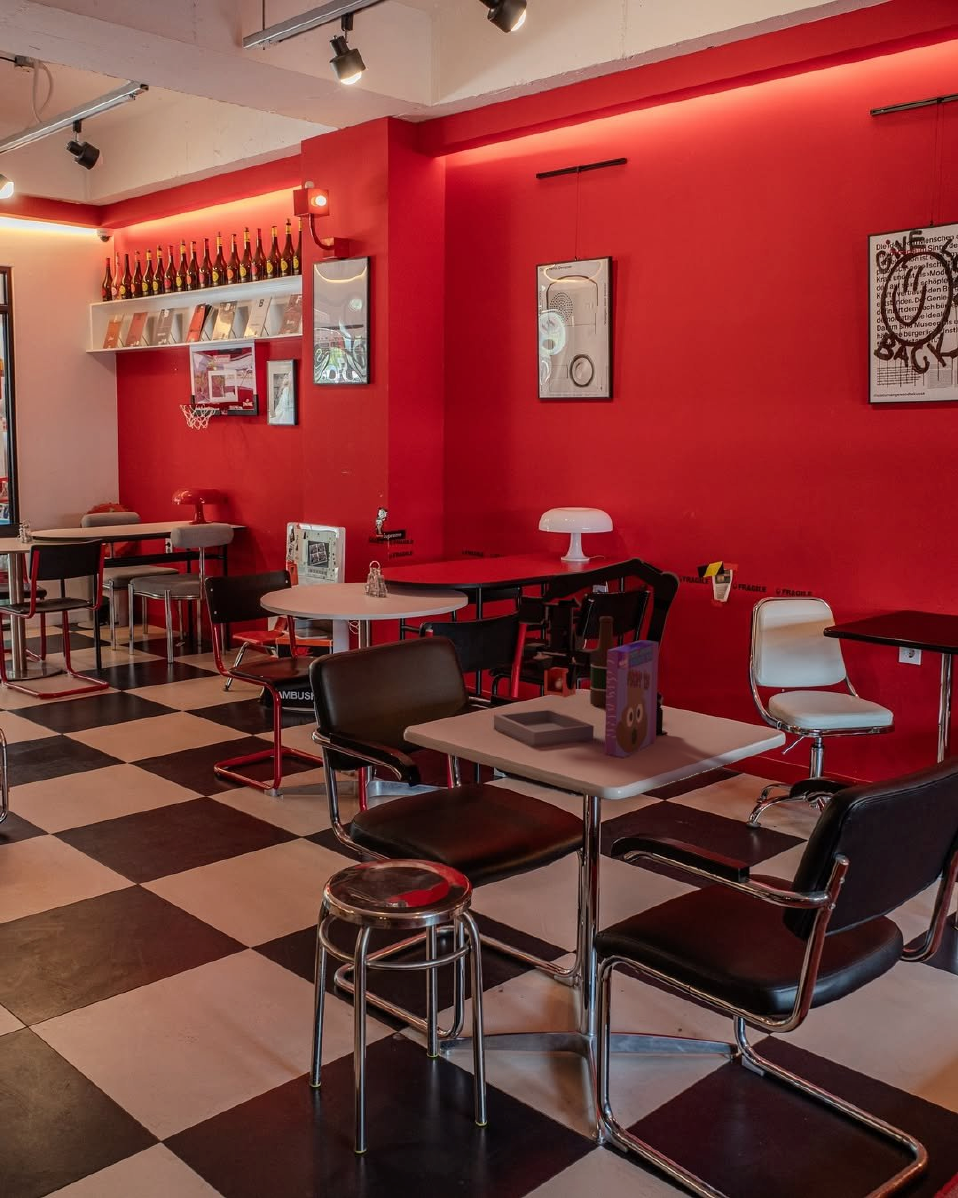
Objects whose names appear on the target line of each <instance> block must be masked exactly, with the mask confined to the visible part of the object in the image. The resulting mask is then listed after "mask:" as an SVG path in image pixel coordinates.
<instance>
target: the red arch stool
mask: <svg viewBox="0 0 958 1198" xmlns="http://www.w3.org/2000/svg"><path fill="white" fill-rule="evenodd" d="M559 678H562V679H563V690H561V691H560V690H557V689H556V688H555V686H554V683H555V681H556V680H557V679H559ZM543 680H544V681H543V682H544V684H543V686H544V687H543V691H544V693H543V695H546V696H547V695H549V696H550V695H552V696H559V697H563V698H569V697H570V696H574V695H576V689H577V688H576V686H577V684H576V683H577V682H576V683H575V685H574V688H573V689H572V690H570V688H569V677H568V668H562V667H551V669H547V670H545V674H544V678H543Z"/></svg>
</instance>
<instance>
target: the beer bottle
mask: <svg viewBox="0 0 958 1198" xmlns="http://www.w3.org/2000/svg"><path fill="white" fill-rule="evenodd" d="M598 621H599V634H598V642H597V646H596V648H595V650H597V651H598V653H599V661H597V662H594V663H591V664H590V678H589V679H590V689H589V691H590V692H589V699H590V701H589V702H590V705H591V704H593V705H594V707H596V706H598V707H597V708H603V709H604V708H605V709H606V683H607V650H610V649H613V648H615V646H614V636H613V634H614V633H613V632H614V631H613V629H614V628H613V622H614V617H612V616H608V615H604V616H603V615H602V616H600V617H599V620H598ZM593 705H592V706H593Z"/></svg>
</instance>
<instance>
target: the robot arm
mask: <svg viewBox="0 0 958 1198" xmlns="http://www.w3.org/2000/svg"><path fill="white" fill-rule="evenodd" d="M631 576H634V577H636V578H637V579H640V580H641V581H642V582H644V583H645V584H647V585H649V586H650V587H652V588H653V589H652V590H653V595H652V604H653V605H652V613H651V617H650V622H649V625H648V630H647V635H646V637H645V640H650V641H655V642H659V647H658V655H659V654H660V649H661V646H662V645H661V644H662V640H663V635H664V633H665V632H664V631H665V627H666V624H667V623H666V622H667V618H668V614H669V611H670V608H671V606H672V604H673V601H674V599H675V597H676V595H677V593H678V591H679V587H680V584H681V582H680V578H679V576H678V575H677V574H676V573H675V572H673V571H670V570H669V571H667V570H666V571H663V570H662V569H660V568H658V567H656V566H654V565H652V564H650V563H648V562H646V561H645V560H643V559H642V558H641V557H632V558H631V559H628V560H624V561H621V562H615V563H613V564H608V565H606V566H602V567H597V568H595V569H589V570H585V571H569V572H560V573H558V574H556V575H554V576H553V577H551V578H550V580H549V582H548V587H547V588H548V589H547V590H546V592H545V593H544V594H542V596H529V595H521V596H520V603H519V606H518V610H517V617H518V618H517V619H518V623H519V624H522V625H523V624H525V625H527V624H528V625H531V624H532V625H543V623H544V621H547V620H548V617H549V620H548V621H549V622H548V623H549V625H548V626H549V627H548V628H547V629H546V635H548V645H547V644H546V643H539V642H533V643H527V644H525V645H524V646H523V649H522V657H524V658H531V662H534V663H535V664H536V667H537V668H538V669H539V672H540V674H541V676H542V678H543V679H544V674H545V670H547V669H551V668H552V662H553V659H554V657H557V658H558V657H559V658H566V659H567V658H568V659H572V662H568V663H567V669H568V677H569V688H570V690H572V689H573V688H574V685H575V683H577V680H578V676H579V674H580V672H581V670H582V669H583V667H584V665H591V663H594V662H597V661H599V653H598V651H597V650H595V649H596V648H595V649H593V648H584V643H585V640H586V639H585V638H584V637H582V636H580V635H577V633H576V632H577V631H576V628H574V627H573V626H574V608H580V607H582V603H581V602H580V601H578V599H577V598H576V596H573V597H572V598H571V599H565V598H567V597H569V596H572V595H574V594H576V593H578V592H580V591H582V590H584V589H587V588H589V587H592V586H596V585H600V584H604V583H607V582H612V581H616V580H619V579H623V578H627V577H631ZM555 599H559V600H558V601H557V602H556V603H555V602H554V603H552V601H553V600H555ZM663 701H664V696H663V695H662V694H661V693H660V692H659V691H658V690H657V715H656V737H657V736H664V735H665V736H666V735H668V733H669V732H668V731H665V730H663V726H664V725H663V723H664V722H663V721H664V719H663V718H664V710H663V708H662V707H661V706H662V704H663Z"/></svg>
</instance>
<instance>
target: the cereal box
mask: <svg viewBox="0 0 958 1198" xmlns="http://www.w3.org/2000/svg"><path fill="white" fill-rule="evenodd" d="M658 647H659V642H655V641H650V640H646V639H643V640H642V639H641V640H640V639H639V640H636V641H633V642H630V643H626V644H623V645H620V646H617V647H614V648H613V649H610V650H607V683H606V707H605V730H604V731H605V734H604V756H607V757H613V758H619V757H620V759H626V758H628V757H629V756H631V755H634V754H635V753H637V752H640V751H641V749H642V750H643V749H645V748H647V747H649V746H651V745H653V744H655V743H656V742H657V741H656V740H657V736H656V715H657V691H658V682H659V681H658V680H659V679H658V678H659V676H658V675H659V674H658V673H659V671H658V670H659V654H658ZM654 742H655V743H654ZM639 750H640V751H639ZM625 757H626V758H625Z"/></svg>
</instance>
